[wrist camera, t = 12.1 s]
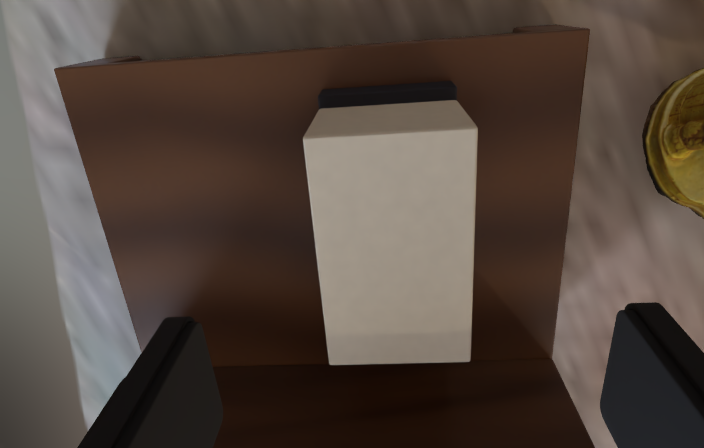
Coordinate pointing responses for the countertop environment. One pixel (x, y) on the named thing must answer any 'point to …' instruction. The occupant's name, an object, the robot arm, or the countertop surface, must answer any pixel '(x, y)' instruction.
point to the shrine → (678, 142)
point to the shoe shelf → (299, 244)
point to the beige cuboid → (394, 222)
